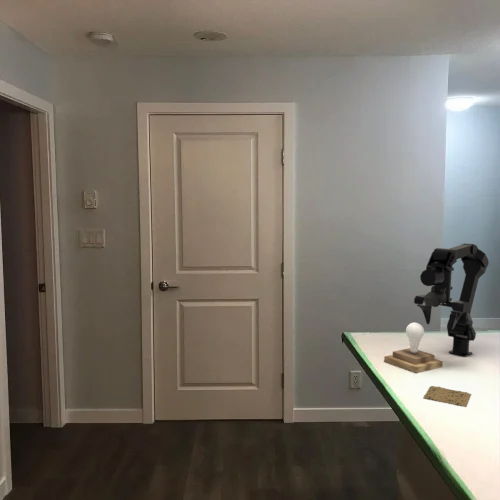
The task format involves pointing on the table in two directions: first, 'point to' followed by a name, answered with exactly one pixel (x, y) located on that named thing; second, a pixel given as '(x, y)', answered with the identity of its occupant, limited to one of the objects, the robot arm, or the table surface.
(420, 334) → the lightbulb
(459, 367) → the table surface
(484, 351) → the table surface
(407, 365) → the plinth
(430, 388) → the cookie
